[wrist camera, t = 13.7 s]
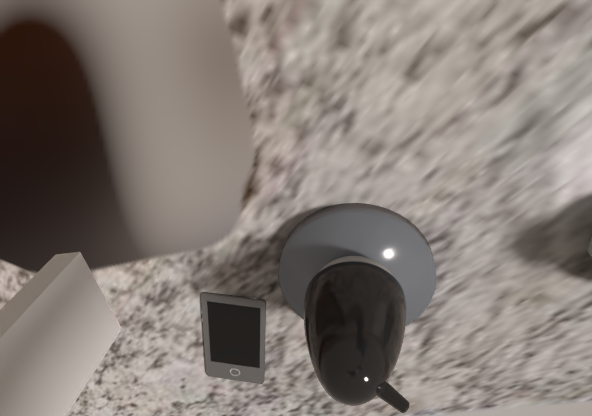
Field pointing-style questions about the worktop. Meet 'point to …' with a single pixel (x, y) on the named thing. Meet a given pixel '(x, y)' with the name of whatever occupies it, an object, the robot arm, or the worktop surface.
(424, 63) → the worktop surface
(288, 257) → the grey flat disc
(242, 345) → the smartphone
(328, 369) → the pump dispenser
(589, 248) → the air freshener
